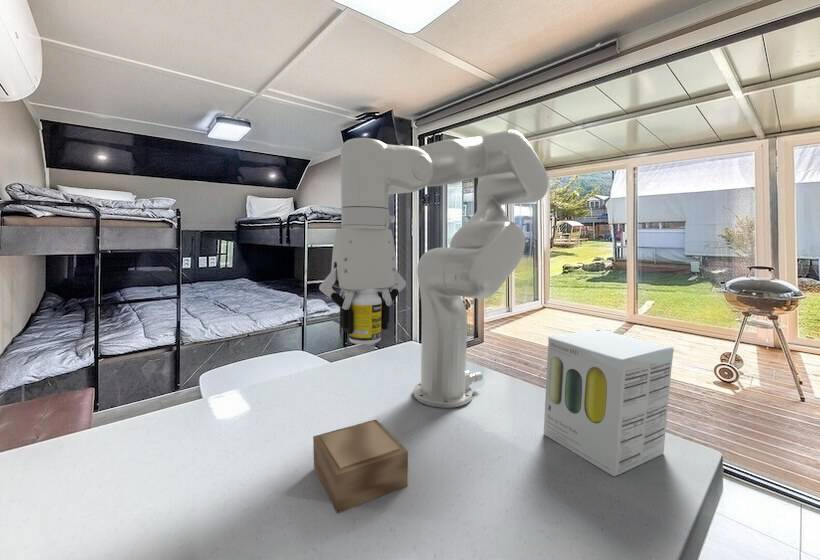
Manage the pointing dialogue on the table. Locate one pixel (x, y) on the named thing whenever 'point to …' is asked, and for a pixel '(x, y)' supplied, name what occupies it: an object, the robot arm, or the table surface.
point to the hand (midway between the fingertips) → (365, 328)
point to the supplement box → (608, 397)
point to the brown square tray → (359, 464)
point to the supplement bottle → (366, 317)
